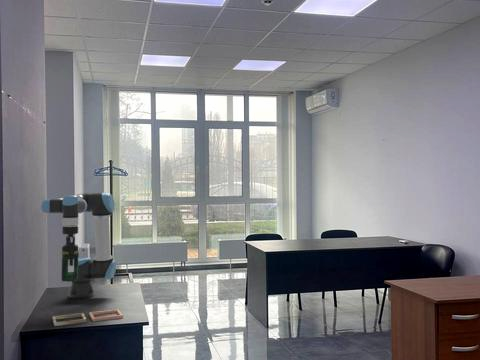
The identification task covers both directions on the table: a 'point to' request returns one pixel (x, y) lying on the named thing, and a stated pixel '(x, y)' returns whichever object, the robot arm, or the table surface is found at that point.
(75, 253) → the coffee jar
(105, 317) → the frame
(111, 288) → the table surface
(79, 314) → the frame
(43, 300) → the table surface
